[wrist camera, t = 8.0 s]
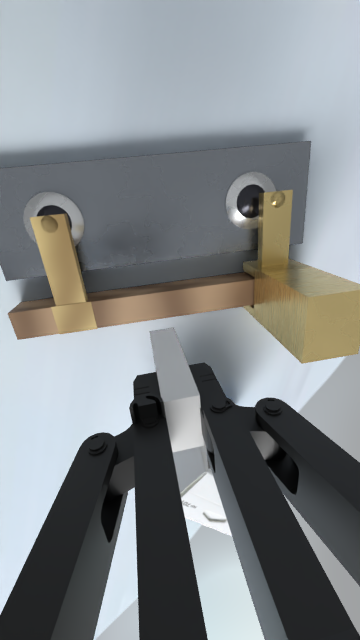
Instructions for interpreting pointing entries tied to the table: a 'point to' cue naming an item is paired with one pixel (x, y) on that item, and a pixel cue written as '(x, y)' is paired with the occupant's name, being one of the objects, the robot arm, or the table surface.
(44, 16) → the table surface
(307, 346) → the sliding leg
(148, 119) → the table surface
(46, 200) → the gray rectangular panel
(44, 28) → the table surface
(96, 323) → the beam
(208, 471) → the ink box
